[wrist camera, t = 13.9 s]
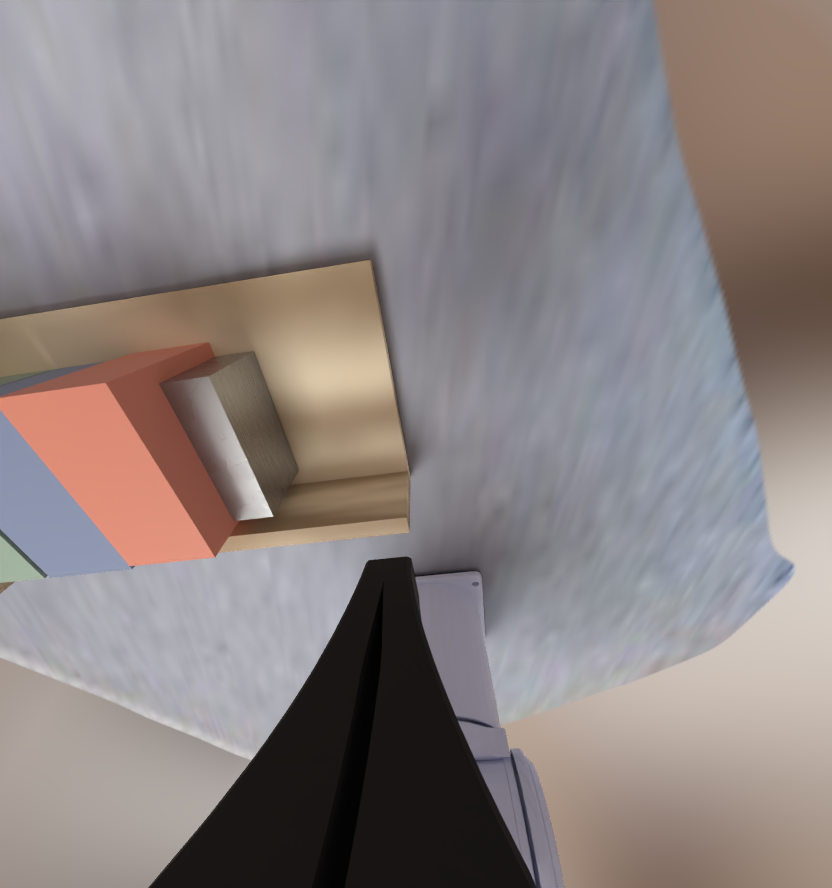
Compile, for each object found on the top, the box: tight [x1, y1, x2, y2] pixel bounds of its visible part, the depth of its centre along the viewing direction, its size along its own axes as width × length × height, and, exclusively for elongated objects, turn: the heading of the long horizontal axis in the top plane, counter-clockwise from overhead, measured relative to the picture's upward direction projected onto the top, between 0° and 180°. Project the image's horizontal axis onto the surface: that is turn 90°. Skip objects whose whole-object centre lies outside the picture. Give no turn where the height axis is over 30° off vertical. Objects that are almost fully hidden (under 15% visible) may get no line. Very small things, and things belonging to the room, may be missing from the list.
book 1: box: [0, 361, 135, 578], centre depth 15 cm, size 8×4×6 cm, turn 8°
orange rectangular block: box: [0, 342, 240, 566], centre depth 15 cm, size 8×4×6 cm, turn 8°
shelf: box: [0, 260, 410, 593], centre depth 15 cm, size 12×22×7 cm, turn 98°
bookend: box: [159, 351, 299, 521], centre depth 16 cm, size 7×2×4 cm, turn 8°
